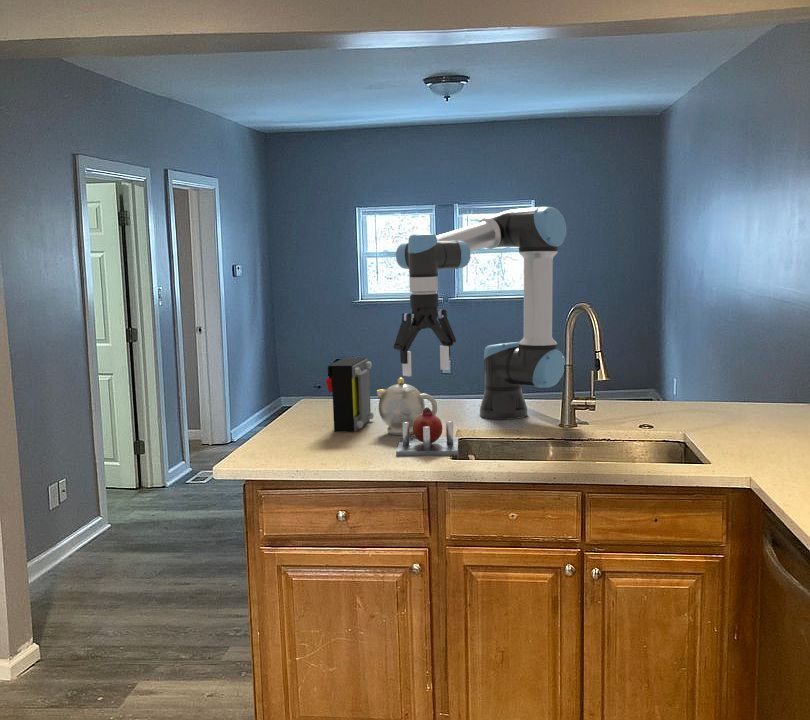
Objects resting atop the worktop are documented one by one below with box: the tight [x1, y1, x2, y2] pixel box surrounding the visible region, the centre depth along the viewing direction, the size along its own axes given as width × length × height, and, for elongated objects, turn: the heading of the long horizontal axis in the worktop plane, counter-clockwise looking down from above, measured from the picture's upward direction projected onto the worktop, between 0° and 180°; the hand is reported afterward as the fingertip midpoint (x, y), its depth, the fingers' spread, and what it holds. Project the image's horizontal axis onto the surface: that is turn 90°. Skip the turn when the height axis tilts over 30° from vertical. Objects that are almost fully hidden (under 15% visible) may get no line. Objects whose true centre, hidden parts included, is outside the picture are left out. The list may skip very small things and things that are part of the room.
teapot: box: [376, 377, 438, 436], centre depth 248 cm, size 18×14×16 cm
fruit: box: [413, 406, 443, 444], centre depth 228 cm, size 8×8×10 cm
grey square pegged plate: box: [395, 420, 459, 457], centre depth 228 cm, size 16×16×7 cm
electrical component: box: [325, 357, 374, 433], centre depth 260 cm, size 18×10×20 cm, turn 168°
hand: (426, 372), depth 226 cm, fingers open, 13 cm apart
